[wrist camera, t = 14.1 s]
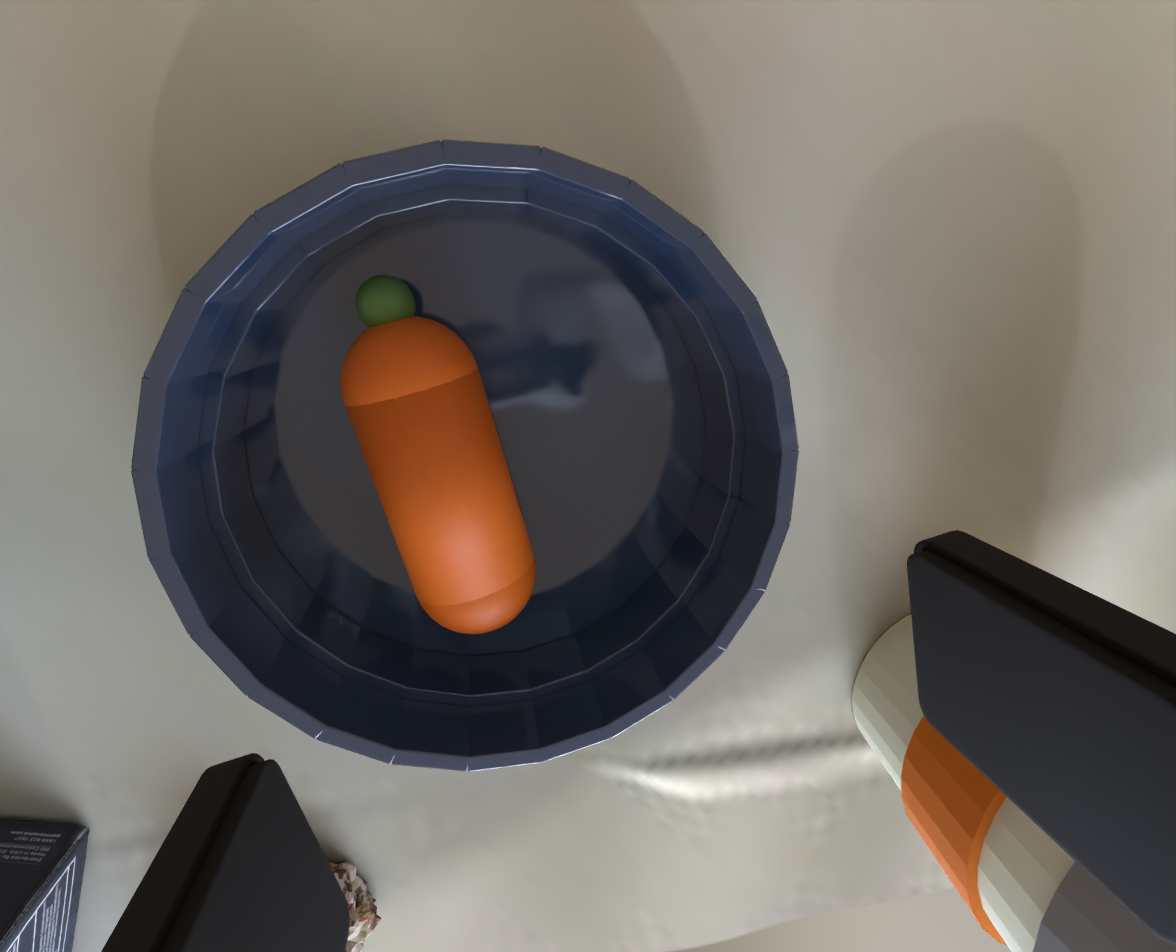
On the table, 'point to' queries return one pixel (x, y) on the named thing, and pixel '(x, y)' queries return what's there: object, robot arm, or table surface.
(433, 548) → the carrot
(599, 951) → the table surface
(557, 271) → the blue round bowl
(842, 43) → the table surface
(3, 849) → the small box
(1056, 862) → the reusable coffee cup
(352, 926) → the mineral rock
